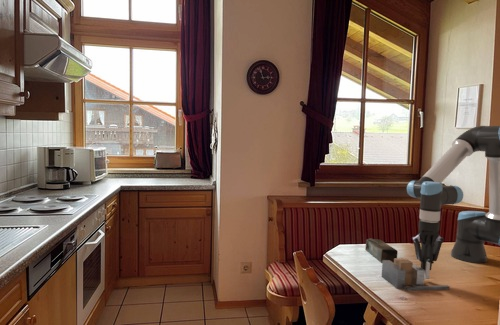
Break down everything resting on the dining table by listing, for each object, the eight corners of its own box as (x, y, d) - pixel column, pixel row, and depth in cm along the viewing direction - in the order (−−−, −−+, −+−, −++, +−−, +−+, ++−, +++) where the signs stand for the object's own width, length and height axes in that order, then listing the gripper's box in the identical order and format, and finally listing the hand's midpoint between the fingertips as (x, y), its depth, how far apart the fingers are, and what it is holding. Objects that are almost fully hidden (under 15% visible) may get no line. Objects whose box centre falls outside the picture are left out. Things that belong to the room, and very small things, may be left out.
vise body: (424, 273, 161) (425, 257, 160) (449, 289, 145) (450, 271, 144) (379, 274, 158) (380, 258, 157) (399, 291, 142) (401, 273, 141)
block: (392, 280, 152) (394, 258, 152) (404, 279, 153) (405, 258, 152) (399, 285, 147) (400, 262, 147) (411, 284, 148) (412, 262, 147)
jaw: (406, 276, 157) (407, 259, 156) (423, 288, 145) (424, 270, 145) (399, 276, 157) (400, 259, 156) (416, 288, 145) (417, 270, 144)
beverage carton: (379, 250, 192) (380, 237, 192) (397, 263, 173) (398, 249, 173) (364, 250, 192) (365, 237, 191) (381, 263, 173) (382, 249, 172)
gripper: (438, 218, 154) (434, 273, 156) (408, 218, 153) (405, 274, 155) (450, 222, 147) (446, 281, 149) (419, 222, 145) (415, 281, 147)
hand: (425, 277), depth 152 cm, fingers closed
